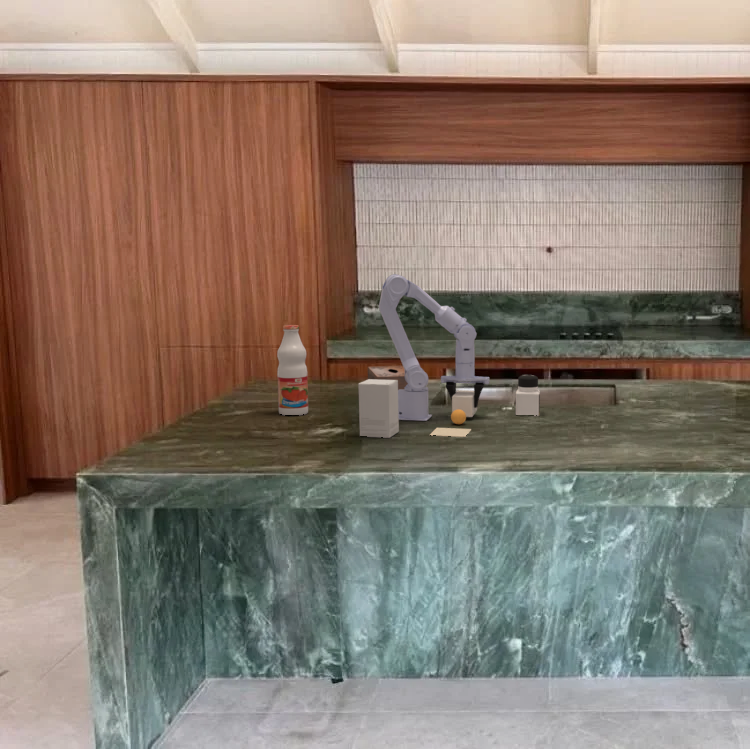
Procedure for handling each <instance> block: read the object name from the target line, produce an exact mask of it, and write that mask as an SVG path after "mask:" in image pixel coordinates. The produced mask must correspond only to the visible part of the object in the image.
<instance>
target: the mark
mask: <svg viewBox="0 0 750 749" xmlns="http://www.w3.org/2000/svg"><path fill="white" fill-rule="evenodd" d="M471 431H472V428H458V427H457V428H453V427H449V428H448V427H436V428H435V429H434V430H433V431H432V432H431V433H430V434H429V437H430V435H431V436H433V435H436V436H435V437H448V436H451V437H450V438H452V437H453V438H455V437H456V438H466V437H467V436H468V435H469V434H470V432H471ZM467 434H468V435H467ZM466 435H467V436H466ZM433 437H434V436H433Z"/></svg>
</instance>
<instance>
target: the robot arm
mask: <svg viewBox="0 0 750 749" xmlns="http://www.w3.org/2000/svg"><path fill="white" fill-rule="evenodd" d="M403 297H407V298H413V299H415V300H417V302H418V303H420V304H421V305H423V307H425V308H426V309H428V310H429V311H430V312H431V313H432V314H434V318H435V319H434V320H435V321H436V322H437V324H439V325H441V327H442V328H444V329H445V330H446V331H448V332H449V333H450V334H453V336H454V338H455V339H456V340H455V375H441V376H440V383H441V384H445V388H446V390H447V392H448V394H449V397H450V400H451V402H452V396H453V395H454V394H455V393H456V392H457V384H473V391H474V395H475V399H474V408H477V409H478V405H479V401H480V400H479V399H480V396H481V393H482V391H483V390H484V387H485V385H489V384H490V377H489V376H476V375H475V365H476V364H475V362H476V361H475V359H476V358H475V357H476V356H475V351H476V350H475V348H476V347H475V339H476V338H477V334H478V332H476V328H475V327H474V326H473V325H472V324H470V323H469V322H468V321H467V318H466V317H462V316H461V315H460V314H459V313H458V312H456V311H455V310H456V308H455V307H453V306H449V305H440V304H439V303H438V301H436V300H435V299H434V298H433V297H432V296H430V295H429V294H428V293H427V292H426V291H425V290H423V288H421V287H420V286H419V285H418V284H416V283H414V282H413V281H411V280H409V279H407V278H406V277H405V276H403V275H401V274H396V273H394V274H391V275H389V276H388V277H387V278H386V280H385V281H384V283H383V284H382V287H381V294H380V299H379V303H378V310H379V312H380V315H381V316H382V319H383V322H384V324H385V326H386V329H387V331H388V334H389V336H390V338H391V340H392V343H393V345H394V348H395V351H396V352H397V354H398V357H399V359H400V361H401V364H402V365H401V366H403V367H404V370H405V380H406V382H407V383H408V384H407V385H406V387H404V389H399V390H398V417H399V421H401V420H402V421H420V422H421V421H423V422H425V421H426V422H427V421H428V420H430V418H431V417H432V416H433V414H429V387H428V386H427V385H428V384H429V376H428V373H427V372H425V370H424V369H423V368H422V367H421V365H420V362H419V361H418V359H417V356H416V355H415V354H416V353H414V350H413V347H412V345H411V343H410V340H409V338H408V335H407V333H406V331H405V329H404V326H403V324H402V321H401V319H400V316H399V314H398V312H397V306H398V305H399V303H400V300H401V299H402V298H403Z"/></svg>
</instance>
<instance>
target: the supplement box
mask: <svg viewBox="0 0 750 749" xmlns="http://www.w3.org/2000/svg"><path fill="white" fill-rule="evenodd" d="M357 385H358V410H359V411H358V414H359V415H358V416H359V421H358V422H359V437H360V436H367V437H366V438H381V437H383V438H384V439H390V438H391V437H393V436H394V435H396V434H397V433H399V432H400V426H399V421H400V420H399V417H398V380H377V379H368V378H367V379H366V380H364V381H361V382H359V383H357ZM383 438H382V439H383Z"/></svg>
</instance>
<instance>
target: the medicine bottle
mask: <svg viewBox="0 0 750 749" xmlns="http://www.w3.org/2000/svg"><path fill="white" fill-rule="evenodd" d="M517 383H518V384H517V390H515V391H516V392H515V416H516V415H534V416H533V417H539V416H540V411H541V409H540V407H541V406H540V403H541V402H540V401H541V399H540V398H541V391H540V389H539V378H538V376H536V375H532V374H522V375H519V376H518V378H517ZM536 415H537V416H536Z"/></svg>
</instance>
